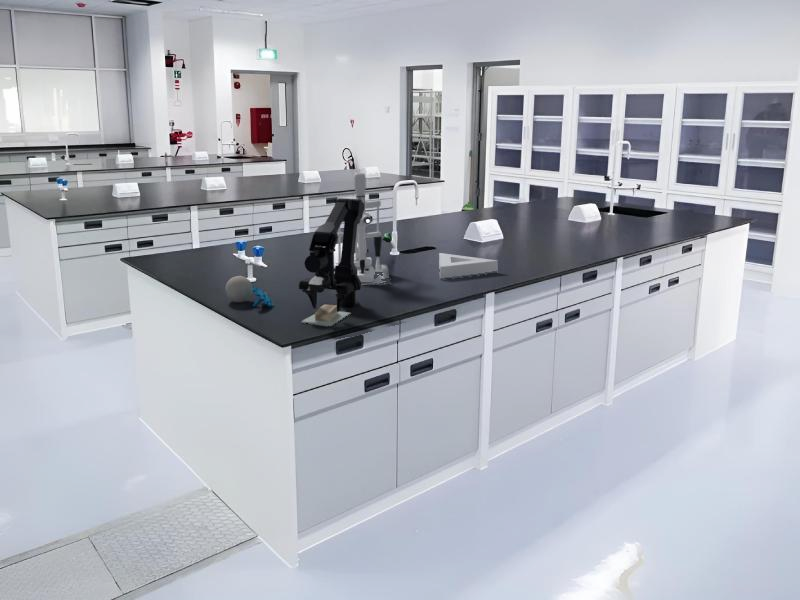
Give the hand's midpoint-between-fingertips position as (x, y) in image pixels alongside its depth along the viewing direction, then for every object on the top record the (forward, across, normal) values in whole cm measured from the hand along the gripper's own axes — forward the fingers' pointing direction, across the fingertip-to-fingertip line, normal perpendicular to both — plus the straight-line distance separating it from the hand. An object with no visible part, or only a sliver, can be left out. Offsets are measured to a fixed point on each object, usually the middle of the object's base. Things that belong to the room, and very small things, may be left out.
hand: (326, 310), depth 242 cm
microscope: (+3, -14, +58) cm, 60 cm away
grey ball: (+3, -40, +6) cm, 41 cm away
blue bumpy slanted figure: (+3, -29, +5) cm, 29 cm away
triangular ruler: (+4, +25, +89) cm, 92 cm away
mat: (+3, 0, 0) cm, 3 cm away
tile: (+2, 0, 0) cm, 2 cm away
